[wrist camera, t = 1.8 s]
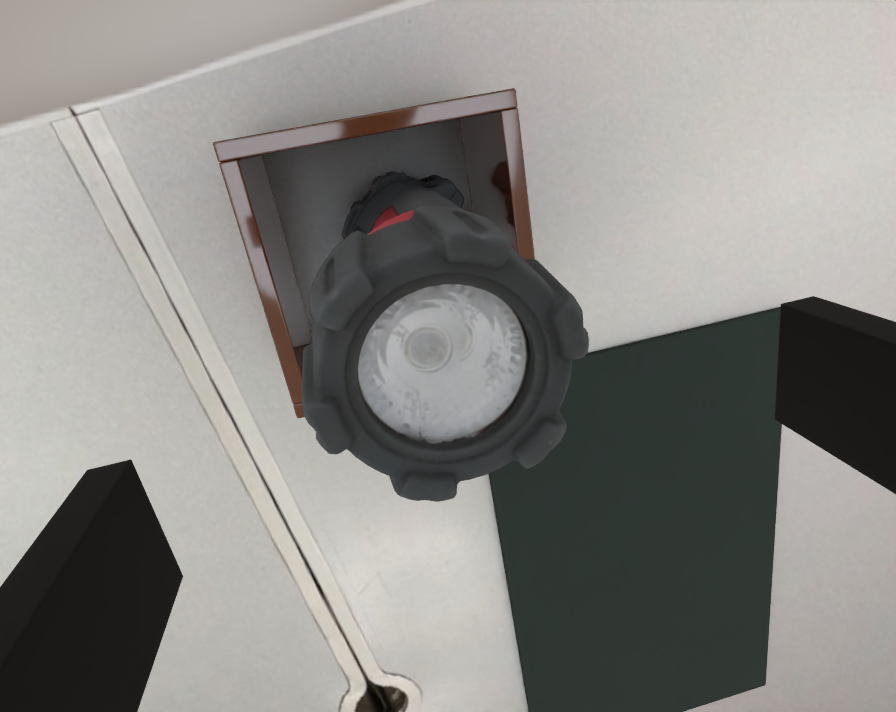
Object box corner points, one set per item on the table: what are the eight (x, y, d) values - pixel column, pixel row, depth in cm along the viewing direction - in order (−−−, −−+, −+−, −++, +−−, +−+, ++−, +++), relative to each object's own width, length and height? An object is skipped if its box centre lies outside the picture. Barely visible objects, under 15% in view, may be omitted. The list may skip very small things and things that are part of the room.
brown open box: (469, 101, 33) (515, 87, 25) (499, 312, 38) (546, 359, 30) (242, 141, 32) (211, 142, 23) (304, 356, 37) (297, 419, 28)
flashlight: (315, 292, 35) (292, 515, 14) (321, 160, 33) (302, 197, 12) (438, 300, 37) (578, 510, 16) (452, 175, 35) (641, 231, 13)
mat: (784, 306, 42) (789, 307, 42) (762, 680, 57) (765, 685, 57) (472, 380, 40) (474, 383, 39) (535, 753, 55) (537, 758, 54)
